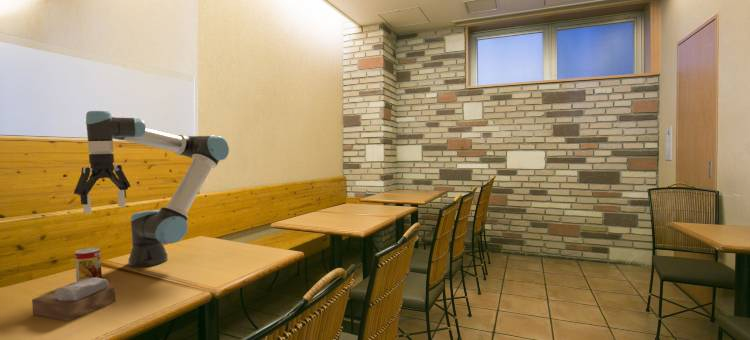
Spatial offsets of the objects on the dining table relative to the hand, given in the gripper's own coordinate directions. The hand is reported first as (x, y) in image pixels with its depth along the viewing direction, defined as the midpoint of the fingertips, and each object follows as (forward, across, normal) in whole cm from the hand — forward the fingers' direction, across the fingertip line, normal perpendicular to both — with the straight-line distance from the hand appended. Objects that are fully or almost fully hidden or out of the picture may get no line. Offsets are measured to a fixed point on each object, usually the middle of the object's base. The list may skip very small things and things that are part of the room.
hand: (105, 209), depth 143 cm
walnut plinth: (+28, +20, +10) cm, 36 cm away
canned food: (+28, 0, -11) cm, 30 cm away
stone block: (+23, +20, +12) cm, 33 cm away
